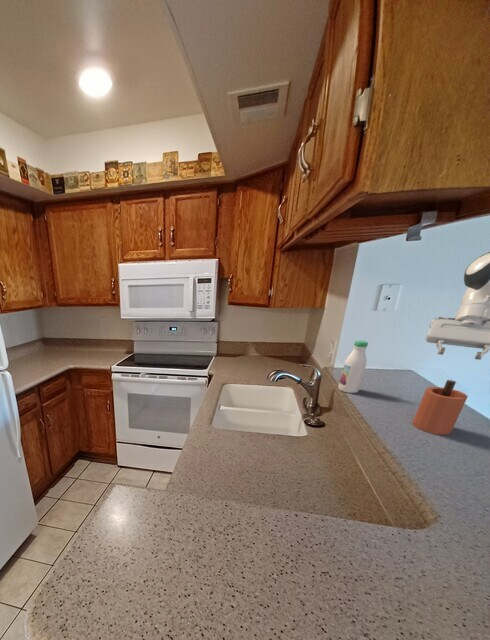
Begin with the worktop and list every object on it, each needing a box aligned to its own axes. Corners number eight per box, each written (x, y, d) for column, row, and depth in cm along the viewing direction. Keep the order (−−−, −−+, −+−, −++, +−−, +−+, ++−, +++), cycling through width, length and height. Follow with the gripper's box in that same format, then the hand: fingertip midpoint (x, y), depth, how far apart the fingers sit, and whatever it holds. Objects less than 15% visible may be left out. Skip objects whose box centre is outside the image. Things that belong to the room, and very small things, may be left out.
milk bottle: (359, 389, 137) (373, 341, 128) (357, 394, 132) (371, 344, 122) (339, 385, 141) (352, 338, 132) (336, 390, 136) (349, 342, 126)
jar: (444, 423, 109) (460, 389, 103) (456, 436, 101) (473, 400, 95) (409, 418, 112) (422, 385, 107) (417, 431, 104) (431, 396, 98)
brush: (439, 424, 107) (458, 380, 100) (440, 429, 104) (461, 384, 97) (424, 421, 108) (442, 378, 101) (425, 426, 105) (444, 382, 98)
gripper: (434, 310, 110) (421, 345, 108) (518, 316, 98) (505, 355, 96) (430, 322, 115) (417, 356, 113) (509, 329, 104) (497, 367, 102)
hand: (458, 356), depth 105 cm, fingers open, 8 cm apart
